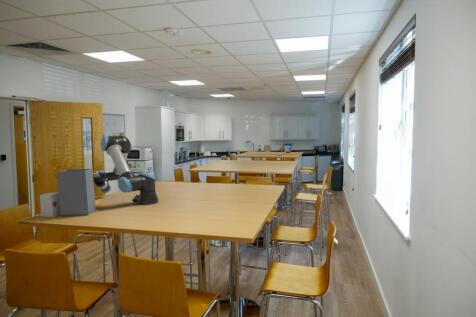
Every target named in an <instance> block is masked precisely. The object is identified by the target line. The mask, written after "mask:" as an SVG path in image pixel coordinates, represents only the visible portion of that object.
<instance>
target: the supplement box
mask: <svg viewBox="0 0 476 317" xmlns="http://www.w3.org/2000/svg"><path fill="white" fill-rule="evenodd" d="M39 201H40V216H41V218H54V217H57V216H61V215H60V203H59V192H48V193H44V194H40V195H39Z"/></svg>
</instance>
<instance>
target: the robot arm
mask: <svg viewBox="0 0 476 317" xmlns="http://www.w3.org/2000/svg"><path fill="white" fill-rule="evenodd" d="M100 140H101V141H100V149H101V151H102V152H106V154H107V155H108V156H110V158H111V160H112V163H113V164H114V166H113V169H112V171H109V172H105V171H104V170H102V169H100V170H96V171H95V176H93V182H94V185H96V186H97V188H98V189H99V190H100V191H101V192H102V193H104V194H108V193H110V192H111V190H112V187H111V185H110V184H109V182H110V181H117V184H118V185H117V186H118V188H119V190H120V191H121V192H122V193H132V192H138V191H139V197H138V199H137V204H138V205H145V206H146V205H154V204H158V203H159V197H158V194H157V192H156V178H155V177H156V176H155V174H154V173H152V172H139V173H138V174H135V172H134V171H132V170H131V169H130V167H129V165H128V163H127V161H126V160H127V157H128V155H129V153H131V149H132V142H131V141H130V139H129V138H128V137H127V136H125V135H105V136H102V138H101V139H100Z"/></svg>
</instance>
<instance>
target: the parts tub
mask: <svg viewBox="0 0 476 317" xmlns="http://www.w3.org/2000/svg"><path fill="white" fill-rule="evenodd" d="M56 175H57V176H56V177H57V188H58V193H59V203H60V215H59V216H60V217H63V218H64V217H79V216H80V217H81V216H82V217H83V216H90V215H91V214H93V213H94V212H96V205H95V200H96V199H95V196H96V195H95V186H94V185H95V182H93V177H94V172H93V168H75V169H73V168H71V169H64V170H58V171H56ZM89 214H90V215H89Z"/></svg>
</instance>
